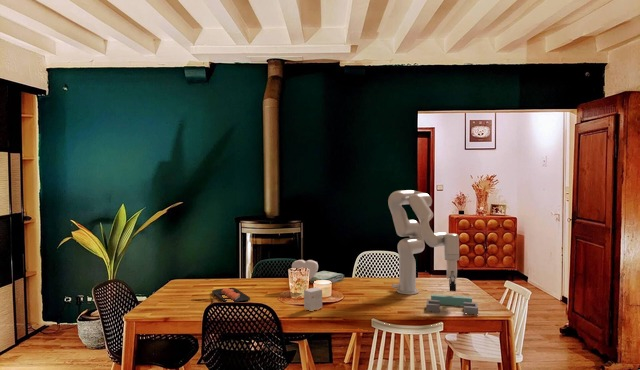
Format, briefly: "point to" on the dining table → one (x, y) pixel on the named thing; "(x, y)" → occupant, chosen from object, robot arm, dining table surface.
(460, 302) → the slat
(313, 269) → the heart sculpture
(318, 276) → the towel
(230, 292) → the sushi plate
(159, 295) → the dining table surface
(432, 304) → the end caps
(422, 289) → the dining table surface
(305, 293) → the small box
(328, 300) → the dining table surface
